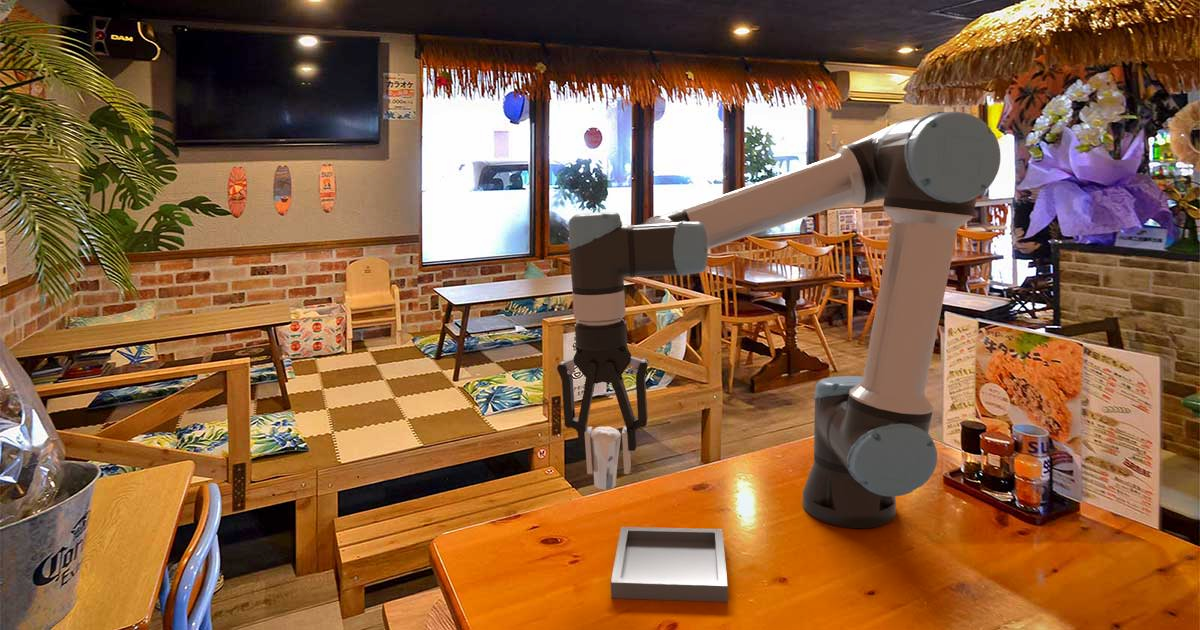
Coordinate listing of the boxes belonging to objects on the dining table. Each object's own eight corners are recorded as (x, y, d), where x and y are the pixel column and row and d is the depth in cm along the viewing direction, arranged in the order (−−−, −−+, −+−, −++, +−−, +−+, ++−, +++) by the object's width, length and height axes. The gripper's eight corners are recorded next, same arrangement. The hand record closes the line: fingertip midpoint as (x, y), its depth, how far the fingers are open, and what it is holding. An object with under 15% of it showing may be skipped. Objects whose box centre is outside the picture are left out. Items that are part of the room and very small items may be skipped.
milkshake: (621, 493, 106) (623, 429, 104) (586, 489, 107) (587, 426, 105) (627, 481, 110) (628, 419, 108) (593, 477, 112) (594, 416, 110)
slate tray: (722, 542, 113) (722, 529, 113) (727, 602, 98) (727, 586, 97) (621, 540, 115) (621, 526, 115) (611, 598, 100) (610, 582, 99)
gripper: (663, 312, 106) (669, 460, 111) (545, 316, 109) (556, 460, 113) (660, 323, 99) (667, 480, 103) (534, 327, 102) (546, 480, 106)
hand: (609, 469), depth 108 cm, fingers closed on milkshake, 5 cm apart
